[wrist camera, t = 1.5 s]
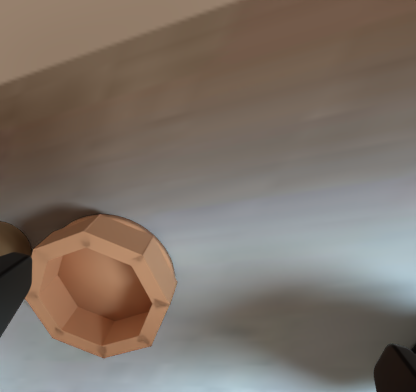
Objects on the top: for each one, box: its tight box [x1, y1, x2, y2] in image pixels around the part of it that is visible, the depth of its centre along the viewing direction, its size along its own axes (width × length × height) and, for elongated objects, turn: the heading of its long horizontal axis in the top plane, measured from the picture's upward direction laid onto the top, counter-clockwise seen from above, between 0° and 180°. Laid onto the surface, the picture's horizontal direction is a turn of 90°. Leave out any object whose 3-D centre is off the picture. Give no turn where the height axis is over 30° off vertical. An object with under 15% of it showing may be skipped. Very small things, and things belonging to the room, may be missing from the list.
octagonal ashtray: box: [25, 214, 177, 358], centre depth 23 cm, size 9×9×3 cm
